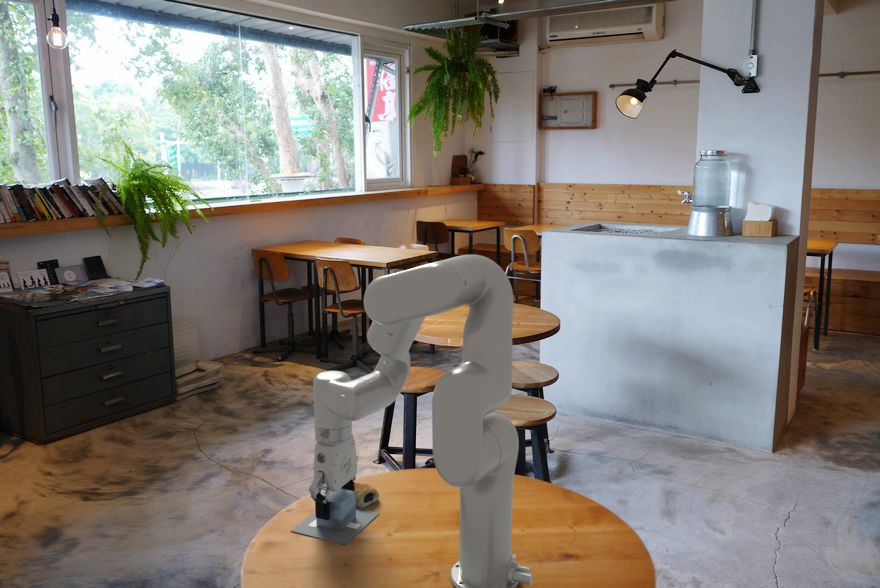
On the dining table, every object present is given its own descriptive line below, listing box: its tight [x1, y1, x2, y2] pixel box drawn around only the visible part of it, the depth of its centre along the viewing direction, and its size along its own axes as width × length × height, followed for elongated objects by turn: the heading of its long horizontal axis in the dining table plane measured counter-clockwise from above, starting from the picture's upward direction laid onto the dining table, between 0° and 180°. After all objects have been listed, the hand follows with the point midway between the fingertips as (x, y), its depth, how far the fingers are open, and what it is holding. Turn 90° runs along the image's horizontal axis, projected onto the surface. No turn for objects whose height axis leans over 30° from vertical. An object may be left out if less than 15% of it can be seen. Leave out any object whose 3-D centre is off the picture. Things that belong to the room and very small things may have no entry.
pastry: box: [355, 482, 380, 509], centre depth 172 cm, size 9×7×4 cm
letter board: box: [290, 508, 380, 546], centre depth 161 cm, size 13×14×1 cm
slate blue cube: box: [316, 488, 356, 531], centre depth 160 cm, size 6×6×6 cm
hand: (335, 508), depth 160 cm, fingers open, 9 cm apart
